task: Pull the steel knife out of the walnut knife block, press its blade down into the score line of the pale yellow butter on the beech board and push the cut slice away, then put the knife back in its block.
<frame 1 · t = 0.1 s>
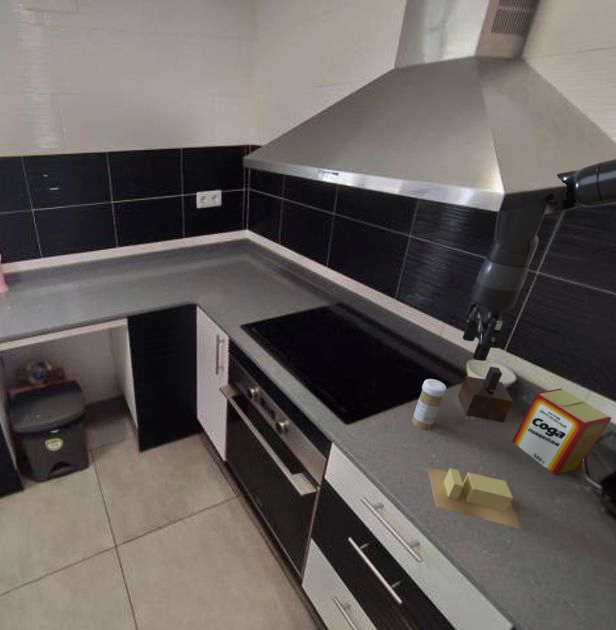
hand: (472, 349, 85), 22 cm above the worktop, tool pointing down, fingers open, 8 cm apart
butter block: (482, 498, 75), point 1 cm above the worktop, touching butter board
sprinkles bottle: (419, 428, 94), on the worktop
butter slice: (450, 490, 77), point 1 cm above the worktop, touching butter board
knife: (479, 408, 98), point 1 cm above the worktop, touching knife block
knife block: (477, 412, 99), on the worktop
baking soda box: (540, 459, 85), on the worktop
butter board: (469, 499, 76), on the worktop
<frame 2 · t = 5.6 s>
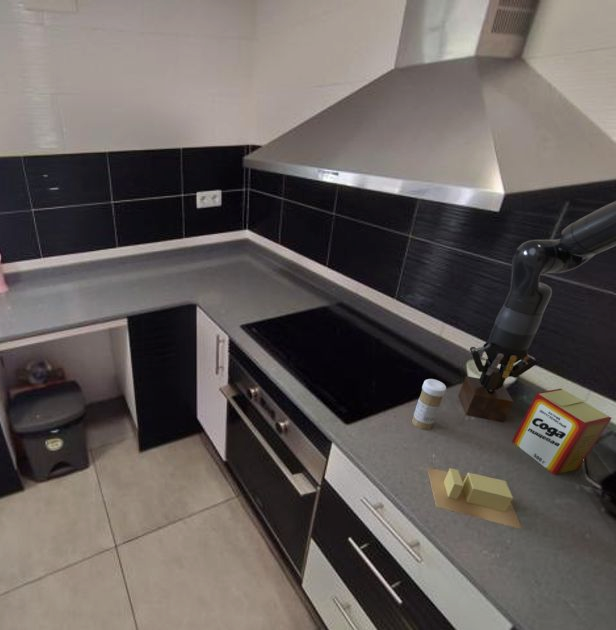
hand: (489, 386, 95), 9 cm above the worktop, tool pointing down, fingers closed on knife, 2 cm apart
knife: (479, 408, 98), point 2 cm above the worktop, touching gripper, knife block
everything else where it was.
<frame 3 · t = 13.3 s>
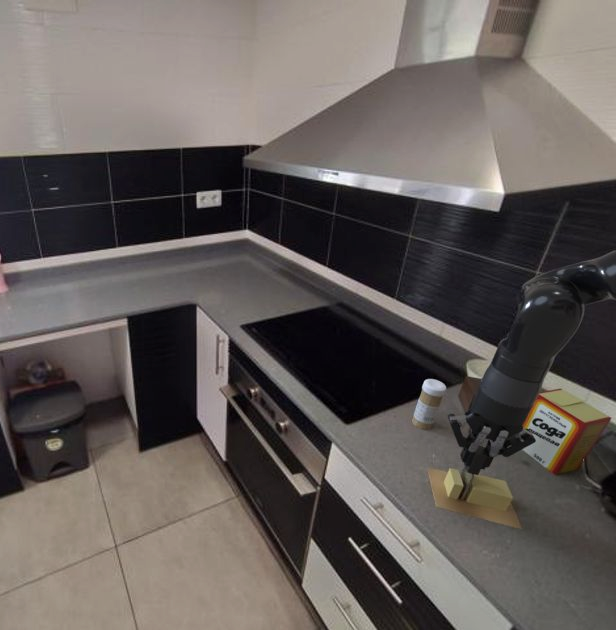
hand: (473, 464, 72), 9 cm above the worktop, tool pointing down, fingers closed on knife, 2 cm apart
knife: (459, 493, 76), point 1 cm above the worktop, touching butter board, gripper
everything else where it was.
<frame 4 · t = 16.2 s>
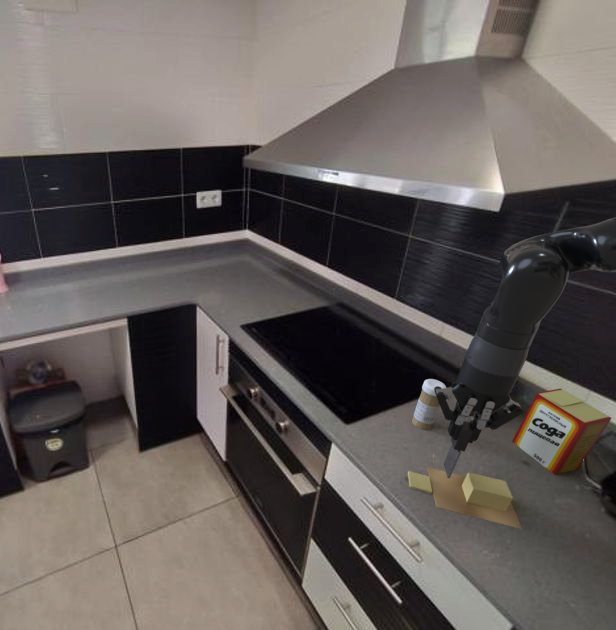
hand: (460, 438, 71), 15 cm above the worktop, tool pointing down, fingers closed on knife
butter slice: (429, 486, 78), point 1 cm above the worktop, tilted 90°
knife: (446, 471, 75), point 6 cm above the worktop, touching gripper
everything else where it was.
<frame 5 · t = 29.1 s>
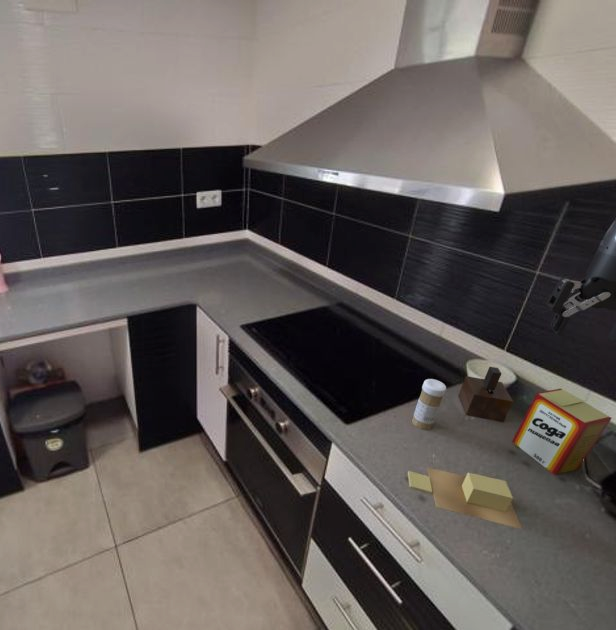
hand: (584, 336, 70), 32 cm above the worktop, tool pointing down, fingers open, 8 cm apart
knife: (478, 408, 98), point 1 cm above the worktop, touching knife block
everything else where it was.
at the end: butter slice 0.4 cm from the target spot on the butter board, point 0.8 cm above the butter board's base; butter block moved 0.0 cm from its start; knife 0.2 cm off-centre on the knife block, point 1.5 cm above the knife block's base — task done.
